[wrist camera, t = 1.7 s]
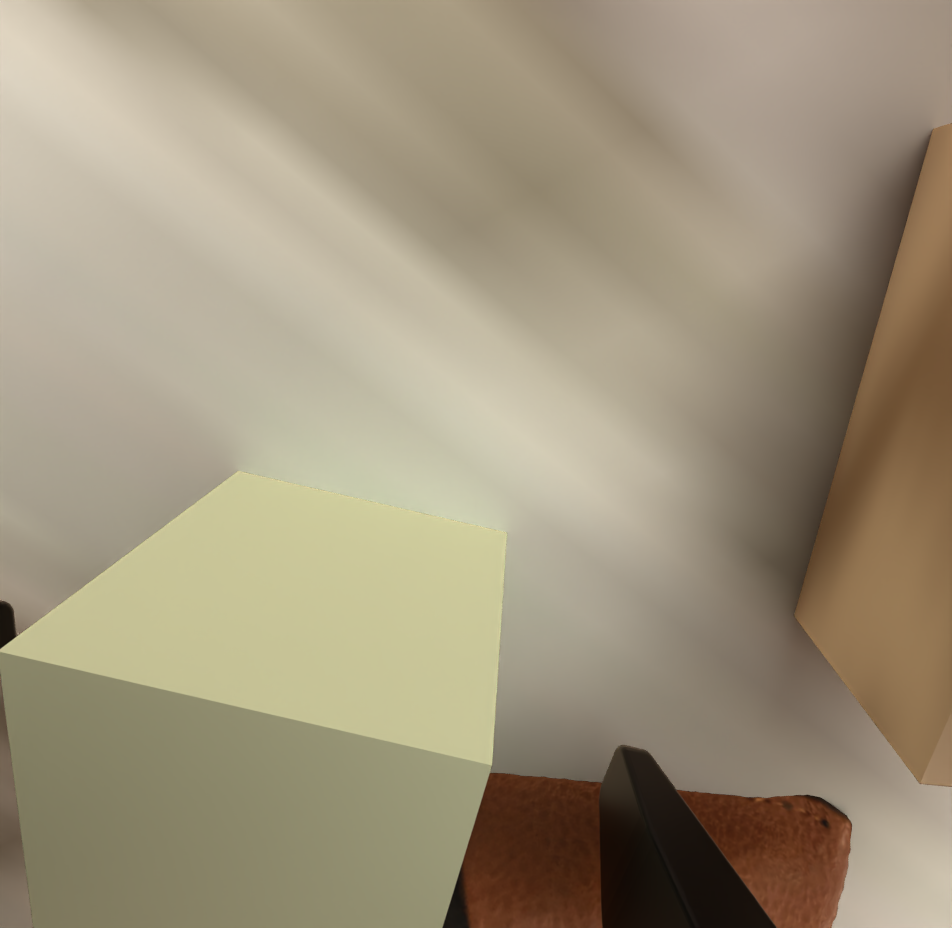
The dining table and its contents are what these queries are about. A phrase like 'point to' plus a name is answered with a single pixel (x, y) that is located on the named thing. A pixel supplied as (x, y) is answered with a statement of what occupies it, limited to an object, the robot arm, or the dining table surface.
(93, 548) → the dining table surface
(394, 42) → the dining table surface
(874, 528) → the tower base
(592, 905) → the sunglasses case
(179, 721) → the sage cube
